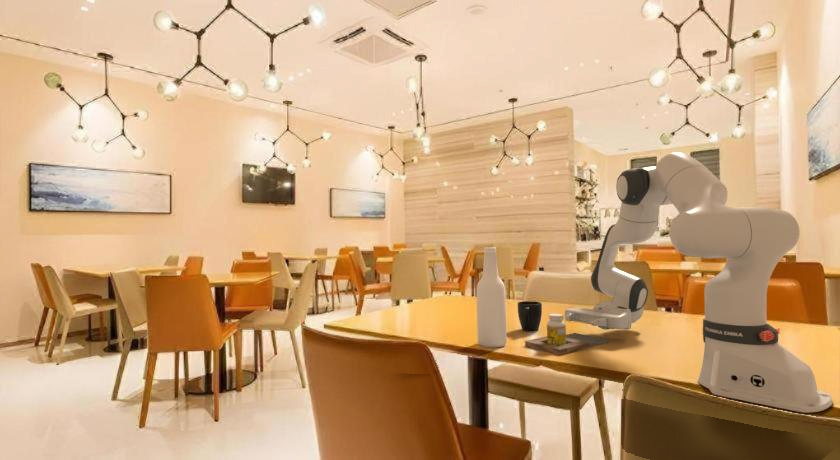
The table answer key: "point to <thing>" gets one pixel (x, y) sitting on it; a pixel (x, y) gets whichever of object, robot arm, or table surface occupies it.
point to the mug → (530, 315)
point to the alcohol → (491, 304)
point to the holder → (560, 350)
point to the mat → (587, 339)
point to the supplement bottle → (556, 330)
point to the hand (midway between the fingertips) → (579, 320)
